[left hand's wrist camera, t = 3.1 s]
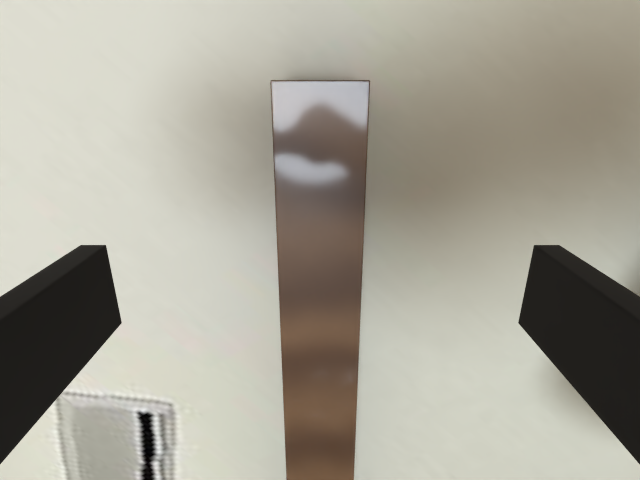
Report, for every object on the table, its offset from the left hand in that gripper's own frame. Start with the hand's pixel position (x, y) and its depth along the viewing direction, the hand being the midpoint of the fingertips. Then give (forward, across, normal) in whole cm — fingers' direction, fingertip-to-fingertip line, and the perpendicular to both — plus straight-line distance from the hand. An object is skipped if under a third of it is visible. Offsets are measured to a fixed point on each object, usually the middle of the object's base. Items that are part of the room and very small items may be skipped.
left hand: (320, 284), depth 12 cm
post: (+21, 0, -21) cm, 29 cm away
